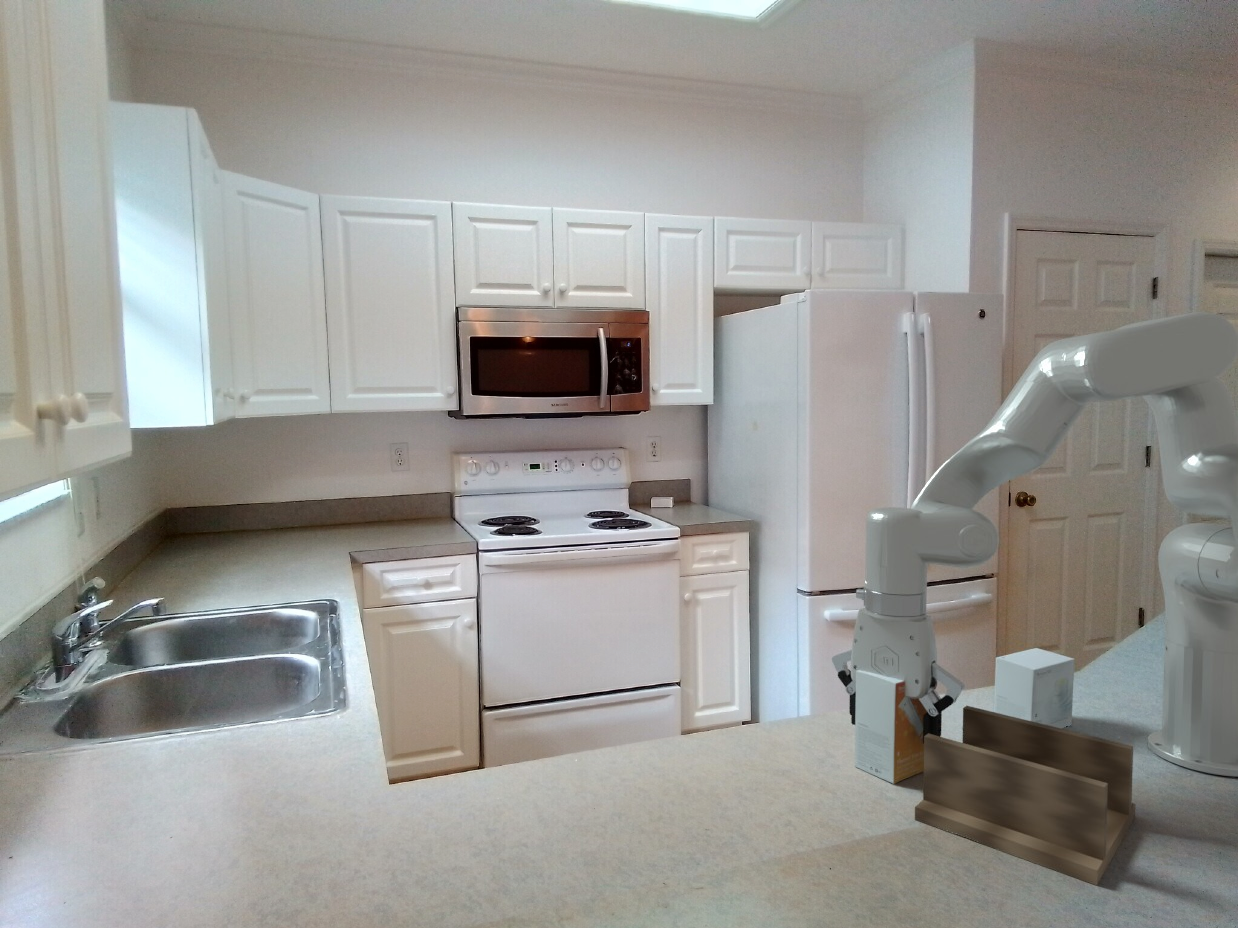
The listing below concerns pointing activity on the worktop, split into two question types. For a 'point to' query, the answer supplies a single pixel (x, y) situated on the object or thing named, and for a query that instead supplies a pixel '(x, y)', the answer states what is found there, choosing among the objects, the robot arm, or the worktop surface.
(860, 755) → the small box
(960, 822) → the book rack
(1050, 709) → the skincare box
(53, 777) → the worktop surface
